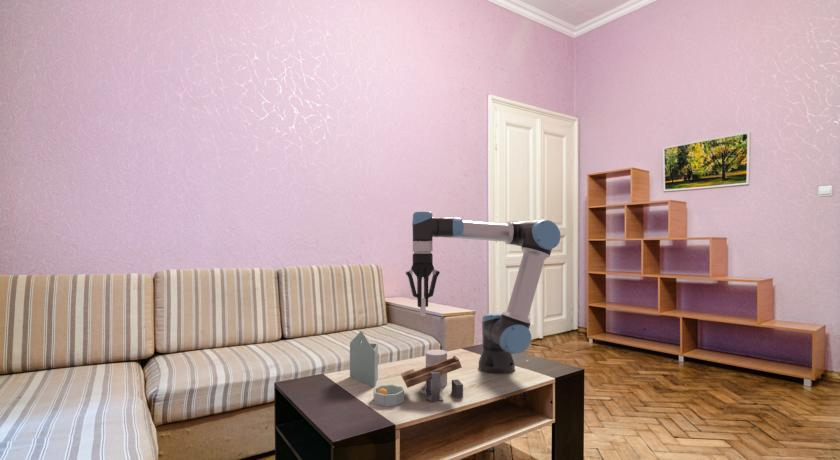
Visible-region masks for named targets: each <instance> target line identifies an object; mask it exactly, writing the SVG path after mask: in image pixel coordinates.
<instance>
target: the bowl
mask: <svg viewBox="0 0 840 460" xmlns="http://www.w3.org/2000/svg"><path fill="white" fill-rule="evenodd" d="M381 388H384V389H386V390H387V395H384V394H380V393H377V392H378V390H379V389H381ZM373 402H374V404H375V405H379V406H382V407H389V406H397V405H400V404H402V403H404V402H405V390H404V388H403V387H402V386H401V385H396V384H384V385H383V384H382V385H379V386H376V387H373Z"/></svg>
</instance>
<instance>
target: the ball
mask: <svg viewBox="0 0 840 460" xmlns="http://www.w3.org/2000/svg"><path fill="white" fill-rule="evenodd" d="M377 393H380V394H384V395H387V390H386V389H384V388H381V389H379V390H378V392H377Z"/></svg>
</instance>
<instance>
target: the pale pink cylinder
mask: <svg viewBox="0 0 840 460" xmlns="http://www.w3.org/2000/svg"><path fill="white" fill-rule="evenodd" d="M447 359H448V352H447V350H445V349H444V350H443V349H429V350H426V351H425V366H426V365H433V364H436V363H439V362H442V361H444V360H447ZM447 385H448V373H446V374H443V375H440V388H443V387H446V386H447Z"/></svg>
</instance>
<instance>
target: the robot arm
mask: <svg viewBox="0 0 840 460" xmlns="http://www.w3.org/2000/svg"><path fill="white" fill-rule="evenodd" d="M411 226H412V252H413V253H412V264H411V267H410V269H409V270H407V271H405V274H406V276H407V277H408V282H409V285H410V291H411V294H412V296H413V297H414V298H416V299H417V307H418V308H420V309H419V316H420V317H426V315H427V313H426V311H427V309H426V308H428V307H429V298H431V297H434V292H435V290H436V289H435V288H436V283H437V280H438V277H439V275H440V274H441V273H440V271H439V270H437V269H435V267H434V265H433V253H432V252H433V250H434V249H433V237H434V238H451V239H463V240H464V239H466V240H477V241H478V240H480V241H491V242H492V241H493V242H504V243H505V244H506V245H513V246H519V247H520V249H521V251H522V253H523V255H522V258H521V261H520V264H519V268H518V271H517V273H516V274H517V275H516V277H515V281H514V285H513V287H512V292H511V296H510V299H509V302H508V306H507V309H506V310H505V311H504V312H502V313H487V314H483V316H482V318H481V319H482V320H481V326H482V327H481V328H482V329H481V332H482V337H481V338H482V340H481V341H482V349H481V352H480V353H481V354H480V356H479V360H478V369H479V370H480V371H482V372H485V373H490V374H509V373H513V372H514V371H515V368H516V365H515V361H514V358H513V355H519V354H521V353H522V354H523V352H525V351H527V349H528V348H529V347H530V345H531V342H532V334H531V331H530V326H531V323H532V322H531V319H529V316H530V312H531V308H532V305H533V301H534V299H535V294H536V292H537V287H538V284H539V281H540V277H541V274H542V271H543V267H544V263H545V261H546V259H548V258H550V256H551V253H552V250H553V249H554V248H556V247H557V246H558V245H559V244H560V241H561V237H562V236H561V231H560V229H559V227H558V225H557V224H556V223H555V222H554V221H552V220H549V219H535V220H525V221H515V222H513V221H507V222H506V223H500V222H499V223H497V222H496V223H495V222H487V221H486V222H485V221H473V220H463V219H462V218H461V217H457V216H456V217H455V216H449V217H448V216H442V217H441V216H440V217H436V216H434V215H433V212H432V211H415V212H414V213H413V214H412V224H411ZM431 274H432V278H431V281H430V284H429V278H430V276H431ZM413 275H415V276H416V280H417V281H416V286H415V283H414V278H413ZM422 280H423V283H422ZM422 284H423V285H422ZM429 285H430V287H429ZM422 286H423V291H422ZM416 289H417V290H416ZM422 293H423V296H422Z"/></svg>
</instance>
